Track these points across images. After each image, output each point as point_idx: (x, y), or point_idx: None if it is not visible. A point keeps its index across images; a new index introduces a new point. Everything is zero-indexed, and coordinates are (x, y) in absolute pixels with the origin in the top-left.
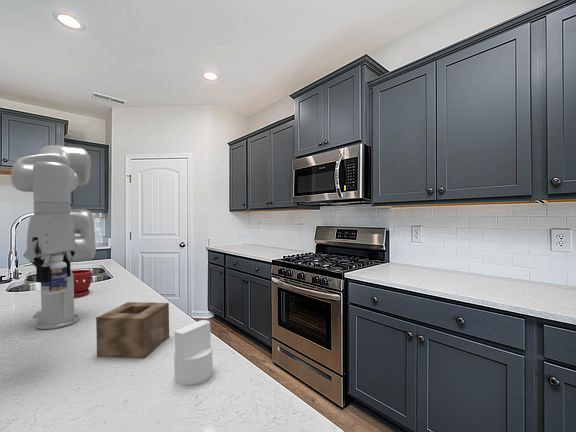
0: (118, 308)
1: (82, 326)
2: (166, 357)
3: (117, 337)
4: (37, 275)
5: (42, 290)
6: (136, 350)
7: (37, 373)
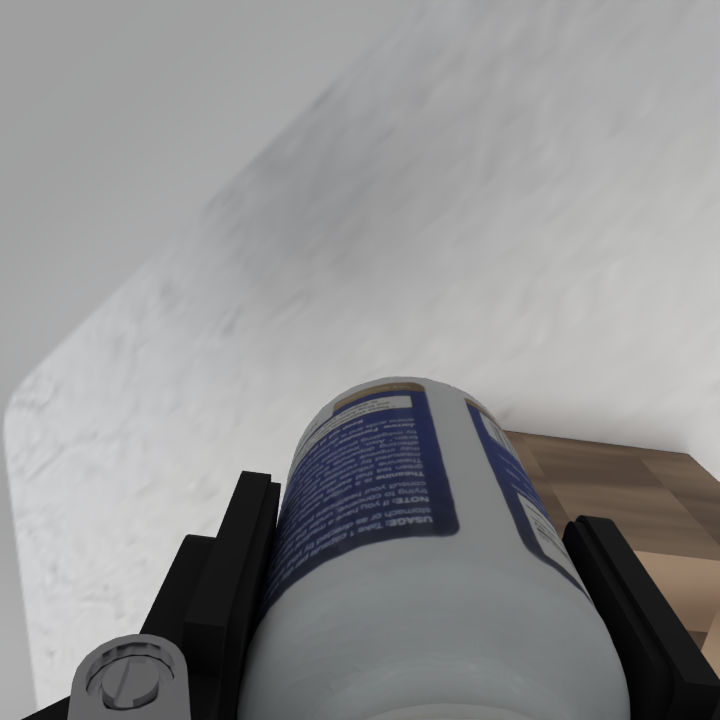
0: (671, 578)
1: None
2: None
3: None
4: (173, 570)
5: (298, 447)
6: None
7: (323, 253)
